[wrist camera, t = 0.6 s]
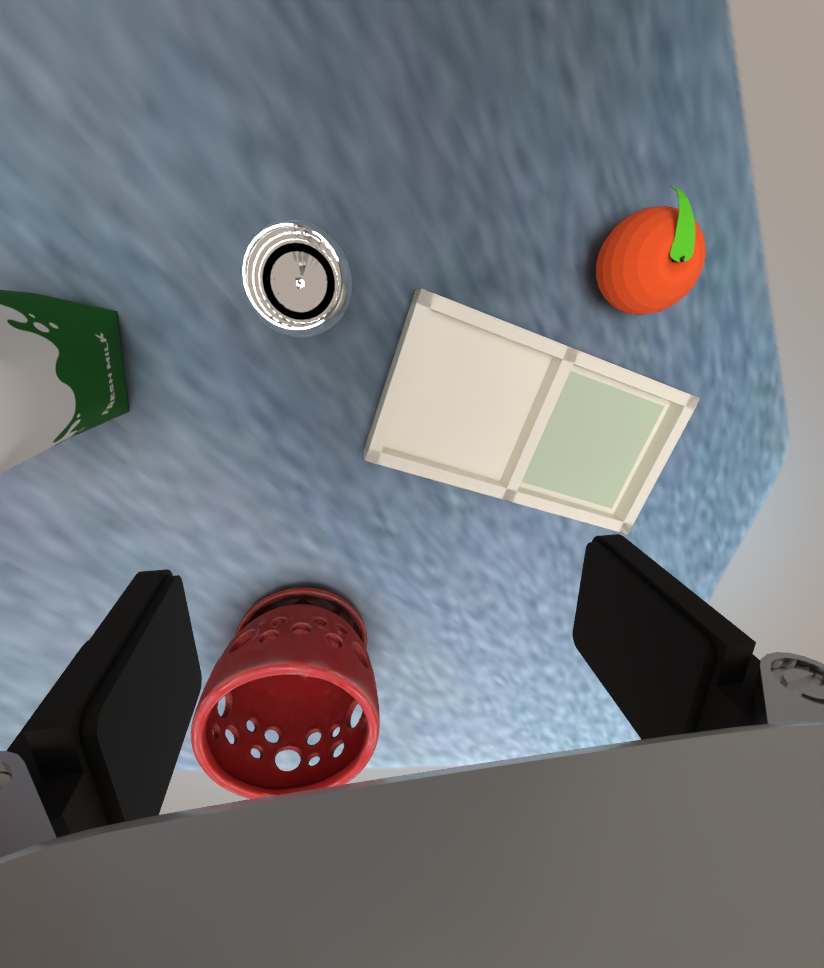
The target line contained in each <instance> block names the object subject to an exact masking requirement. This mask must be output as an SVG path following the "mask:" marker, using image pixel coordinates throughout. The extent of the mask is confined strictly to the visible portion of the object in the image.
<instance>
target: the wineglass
mask: <svg viewBox="0 0 824 968" xmlns="http://www.w3.org/2000/svg"><path fill="white" fill-rule="evenodd" d="M240 278H241V285H242V289H243V293H244V295H245V298H246V300H247V302H248V304H249V306H250V308H251V309H252V311H253V312H254V313H255V315H256V316H257V317H258V318H259V319H260V320H261V321H262V322H263V323H264V324H266V325H267V326H268V327H270V328H271V329H273V330H275V331H277V332H279V333H281V334H284V335H287V336H291V337H301V338H305V337H312V336H316V335H319V334H322V333H324V332H326V331H327V330H329V329H330V328H332V327H333V326H334V325H335V324H336V323H337V322H338V321H339V320H340V319H341V317H342V316H343V315H344V313H345V311H346V309H347V307H348V304H349V301H350V297H351V292H352V277H351V271H350V267H349V264H348V261H347V259H346V257H345V255H344V253H343V251H342V249H341V248H340V246H339V245H338V244H337V243H336V241H335V240H334V239H333V238H332V237H331V236H330V235H329V234H328V233H327V232H325V231H324V230H322V229H321V228H319V227H318V226H315V225H313V224H311V223H308V222H305V221H301V220H292V219H290V220H281V221H277V222H273V223H270V224H268V225H267V226H265V227H263V228H262V229H260V230H259V231H258V232H257V233H256V234H255V235H254V236H253V237H252V238H251V240H250V241H249V243H248V244H247V246H246V248H245V251H244V253H243V256H242V260H241V268H240Z"/></svg>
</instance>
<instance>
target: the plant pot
mask: <svg viewBox="0 0 824 968" xmlns="http://www.w3.org/2000/svg"><path fill="white" fill-rule="evenodd" d="M366 648H367V633H366V629H365V626H364V623H363V621H362V619H361V617H360V615H359V614H358V612H357V611H356V610H355V608H354V607H353V606H352V605H351V604H349V603H348V602H347V601H346V600H344V599H343V598H341V597H340V596H338V595H336V594H334V593H332V592H329V591H325V590H322V589H317V588H308V587H300V588H291V589H286V590H282V591H279V592H276V593H273V594H271V595H269V596H267V597H265V598H264V599H262V600H260V601H259V602H258V603H256V604H255V605H254V606H253V607H252V608H251V609H250V610H249V611H248V612H247V613H246V615H245V616H244V618H243V619H242V621H241V623H240V624H239V627H238V629H237V632H236V636H235V637H234V639H233V640H232V641H231V642H230V644H229V645H228V646H227V648H226V650H225V651H224V653H223V654H222V656H221V657H220V659H219V660H218V661H217V663H216V665H215V667H214V669H213V671H212V673H211V675H210V678H209V679H208V681H207V683H206V685H205V688H204V690H203V693H202V695H201V698H200V700H199V703H198V706H197V709H196V711H195V714H194V717H193V721H192V726H191V743H192V748H193V751H194V754H195V757H196V759H197V761H198V763H199V764H200V766H201V767H202V769H203V770H204V772H205V773H206V774H207V775H208V776H209V777H210V778H211V779H212V780H213V781H215V782H216V783H217V784H218V785H220V786H222V787H223V788H225V789H227V790H229V791H231V792H233V793H235V794H237V795H240V796H243V797H246V798H249V799H256V798H262V797H269V796H275V795H281V794H288V793H294V792H300V791H307V790H313V789H319V788H326V787H332V786H338V785H345V784H346V783H348V782H349V781H351V780H352V779H353V778H354V777H356V775H357V774H358V773H360V772H361V770H363V768H364V767H365V766H366V764H367V763H368V761H369V760H370V758H371V756H372V754H373V752H374V750H375V747H376V744H377V741H378V736H379V704H378V696H377V689H376V682H375V677H374V673H373V669H372V666H371V662H370V659H369V656H368V653H367V651H366ZM224 696H225V699H226V703H225V710H224V713H223V715H222V716H220V715H219V713H218V709H217V706H218V701H219V700H220V699H221V698H222V697H224ZM358 703H359V705H360V706H361V708H362V710H363V711H362V715H361V718H360V719H359V722H358V724H357V725H356V726H355V727H354V728H352V727H351V722H350V721H351V716H352V713H353V711H354V709H355V707H356V705H357V704H358ZM248 720H250V721H252V722H253V724H254V726H255V729H254V731H253V732H251V731H249V730H248V729H247V726H246V724H247V721H248ZM337 727H340V732H339V734H338V735H337V736H336V737H333V736H332V735H333V731H334V730H335V729H336V728H337ZM226 729H228V730H230V731H231V732H232V734H233V735H234V744H230V743H229V741H228V739H227V738H226V736H225V731H226ZM267 730H274V731H276V732H277V733H278V735H279V740H278V742H276V743H271V742H268V741H267V740H266V738H265V736H264V735H265V732H266V731H267ZM213 732H214V735H213ZM315 732H319V733H321V739H320V741H319V742H318V743H316V744H315V745H309V744H308V743H307V739H308V737H309V736H310V735H311V734H313V733H315ZM342 743H344V749H343V751H342V753H341V754H340V755H339V756H338V757H333V754H334V751H335V749H336V748H337V747H338V746H339V745H340V744H342ZM252 748H256V749H257V750H259V752H260V754H261V755H260V758H255V757H253V756H252V755H251V749H252ZM283 750H293V751H296V752H297V753H298V754H299V755H300V758H301V761H300V764H299V766H298V767H297V768H296V769H294V770H292V771H282V770H280V769H279V768H278V767H277V765H276V763H275V756H276V755H277V753H279V752H281V751H283ZM315 756H318V757H320V761H319V762H318V763H317V764H316V765H314V766H310V765H309V764H308V763H309V761H310V759H311V758H313V757H315Z"/></svg>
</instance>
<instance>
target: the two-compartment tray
mask: <svg viewBox="0 0 824 968" xmlns="http://www.w3.org/2000/svg"><path fill="white" fill-rule="evenodd" d="M699 400H700V398H698V397H695V396H693V395H690V394H687V393H685V392H682V391H680V390H677V389H675V388H672V387H670V386H667V385H665V384H662V383H660V382H657V381H655V380H652V379H650V378H647V377H644V376H642V375H639V374H637V373H634V372H632V371H629V370H627V369H624V368H622V367H619V366H617V365H614V364H612V363H609V362H606V361H604V360H601V359H599V358H596V357H594V356H591V355H589V354H586V353H584V352H581V351H579V350H576V349H574V348H571V347H569V346H566V345H563V344H561V343H558V342H556V341H553V340H551V339H548V338H546V337H543V336H541V335H538V334H536V333H533V332H531V331H528V330H525V329H523V328H520V327H518V326H515V325H513V324H510V323H508V322H505V321H503V320H500V319H498V318H495V317H493V316H490V315H487V314H485V313H482V312H480V311H477V310H475V309H472V308H470V307H467V306H465V305H462V304H460V303H457V302H455V301H452V300H450V299H447V298H444V297H442V296H439V295H437V294H434V293H432V292H429V291H427V290H424V289H422V288H421V289H415V292H414V295H413V299H412V302H411V305H410V308H409V311H408V314H407V317H406V320H405V323H404V326H403V329H402V332H401V336H400V339H399V342H398V345H397V348H396V351H395V354H394V357H393V360H392V363H391V366H390V370H389V373H388V376H387V379H386V382H385V385H384V388H383V391H382V394H381V397H380V400H379V403H378V407H377V410H376V413H375V416H374V419H373V422H372V425H371V428H370V431H369V434H368V437H367V440H366V444H365V447H364V450H363V453H364V458H365V461H368V462H372V463H375V464H379V465H382V466H386V467H389V468H393V469H397V470H400V471H404V472H407V473H411V474H414V475H418V476H422V477H425V478H429V479H432V480H436V481H439V482H443V483H446V484H450V485H454V486H457V487H461V488H464V489H468V490H471V491H475V492H479V493H482V494H486V495H489V496H493V497H496V498H500V499H504V500H507V501H511V502H514V503H518V504H521V505H525V506H528V507H532V508H536V509H539V510H543V511H546V512H550V513H553V514H557V515H561V516H564V517H568V518H571V519H575V520H578V521H582V522H585V523H589V524H593V525H596V526H600V527H603V528H607V529H610V530H614V531H618V532H621V533H625V534H628V533H629V531H630V529H631V527H632V525H633V523H634V521H635V520H636V518H637V516H638V514H639V512H640V510H641V508H642V507H643V505H644V503H645V501H646V499H647V497H648V495H649V493H650V492H651V490H652V488H653V486H654V484H655V482H656V480H657V479H658V477H659V475H660V473H661V471H662V469H663V467H664V465H665V464H666V462H667V460H668V458H669V456H670V454H671V452H672V450H673V449H674V447H675V445H676V443H677V441H678V439H679V437H680V436H681V434H682V432H683V430H684V428H685V426H686V424H687V422H688V421H689V419H690V417H691V415H692V413H693V411H694V409H695V407H696V406H697V404H698V402H699Z"/></svg>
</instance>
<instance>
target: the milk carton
mask: <svg viewBox="0 0 824 968" xmlns="http://www.w3.org/2000/svg"><path fill="white" fill-rule="evenodd" d="M127 412H129V406H128V398H127V390H126V382H125V374H124V366H123V357H122V349H121V341H120V333H119V325H118V317H117V312H116V311H111V310H107V309H102V308H97V307H93V306H88V305H84V304H79V303H75V302H70V301H66V300H62V299H58V298H53V297H49V296H44V295H38V294H32V293H25V292H15V291H6V290H0V474H1V473H3V472H5V471H7V470H9V469H11V468H12V467H14V466H16V465H18V464H20V463H22V462H24V461H26V460H28V459H30V458H32V457H34V456H36V455H38V454H40V453H42V452H43V451H45V450H47V449H49V448H51V447H53V446H55V445H57V444H59V443H61V442H63V441H65V440H66V439H68V438H70V437H73V436H75V435H77V434H79V433H82V432H84V431H86V430H88V429H91V428H93V427H95V426H97V425H100V424H102V423H104V422H106V421H109V420H111V419H113V418H115V417H118V416H120V415H122V414H125V413H127Z"/></svg>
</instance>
